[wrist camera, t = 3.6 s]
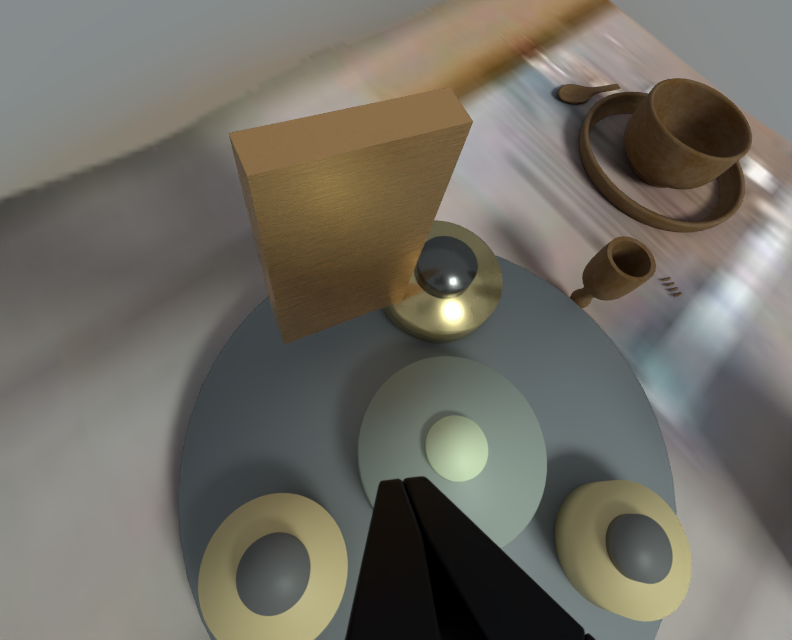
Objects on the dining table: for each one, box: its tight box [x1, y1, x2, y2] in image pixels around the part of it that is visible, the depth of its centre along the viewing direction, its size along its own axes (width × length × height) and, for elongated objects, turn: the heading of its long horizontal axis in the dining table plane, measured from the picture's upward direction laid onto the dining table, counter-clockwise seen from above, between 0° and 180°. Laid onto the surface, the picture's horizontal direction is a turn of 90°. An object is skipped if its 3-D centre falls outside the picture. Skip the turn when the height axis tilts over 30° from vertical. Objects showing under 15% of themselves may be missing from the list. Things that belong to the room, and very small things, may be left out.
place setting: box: [557, 78, 752, 308], centre depth 27 cm, size 18×20×6 cm
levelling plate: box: [178, 256, 692, 640], centre depth 18 cm, size 22×22×3 cm
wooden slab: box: [229, 87, 503, 344], centre depth 16 cm, size 11×6×12 cm, turn 116°
